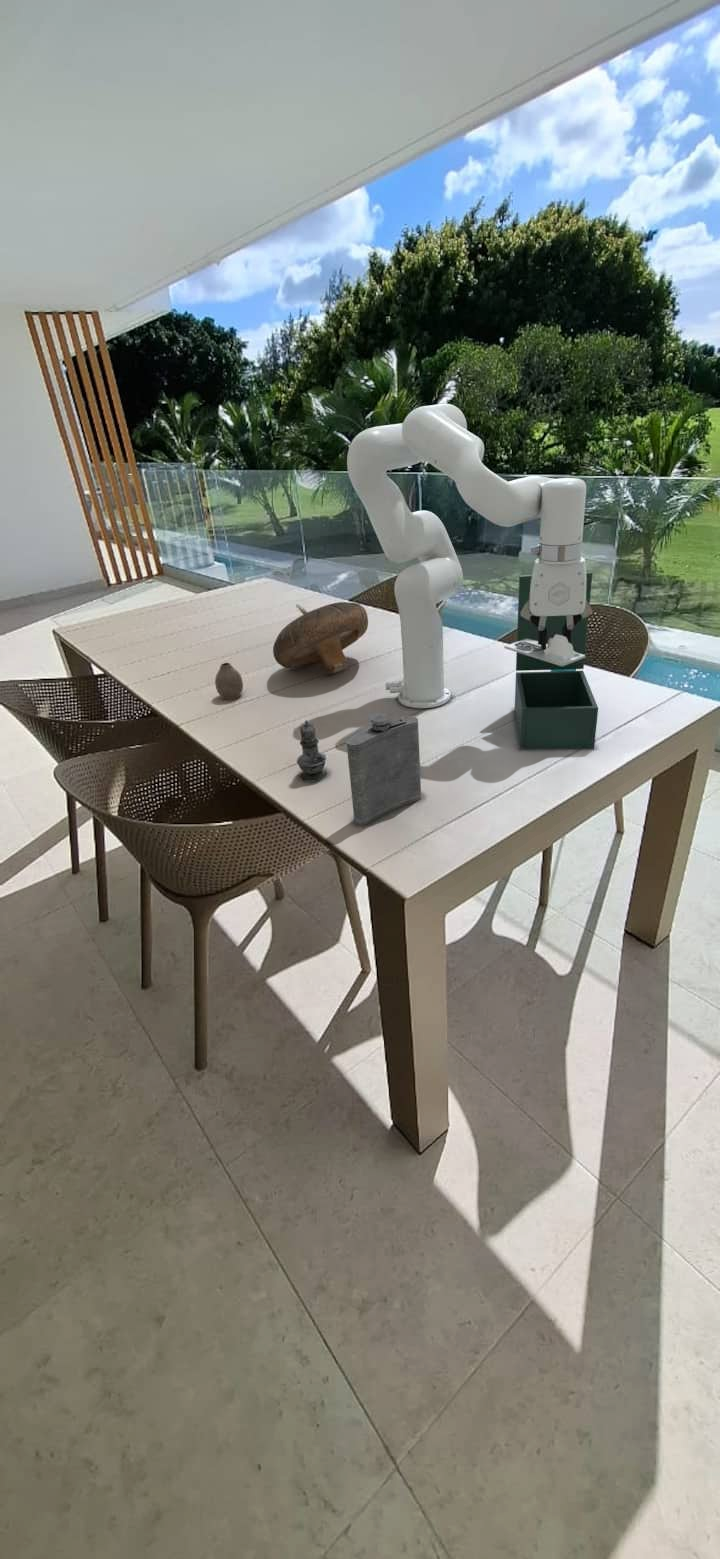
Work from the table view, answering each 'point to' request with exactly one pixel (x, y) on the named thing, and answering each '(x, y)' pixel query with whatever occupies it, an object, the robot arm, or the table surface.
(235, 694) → the vase
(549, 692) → the green lidded box
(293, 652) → the mushroom
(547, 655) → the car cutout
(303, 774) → the salt shaker
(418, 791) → the flask
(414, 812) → the table surface
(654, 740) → the table surface
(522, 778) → the table surface
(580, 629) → the box lid
